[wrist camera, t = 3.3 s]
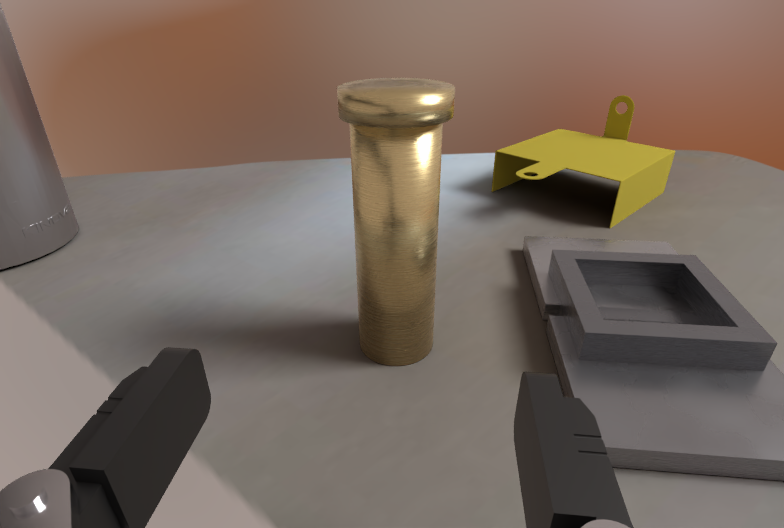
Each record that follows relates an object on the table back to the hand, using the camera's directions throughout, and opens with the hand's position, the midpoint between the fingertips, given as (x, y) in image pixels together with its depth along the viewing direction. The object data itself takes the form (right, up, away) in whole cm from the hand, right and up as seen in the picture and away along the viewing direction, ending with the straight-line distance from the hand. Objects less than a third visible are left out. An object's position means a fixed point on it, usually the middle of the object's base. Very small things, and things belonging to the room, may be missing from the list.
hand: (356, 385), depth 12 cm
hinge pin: (+1, -1, +12) cm, 12 cm away
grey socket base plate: (+13, 0, +13) cm, 18 cm away
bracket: (+16, +8, +29) cm, 34 cm away
